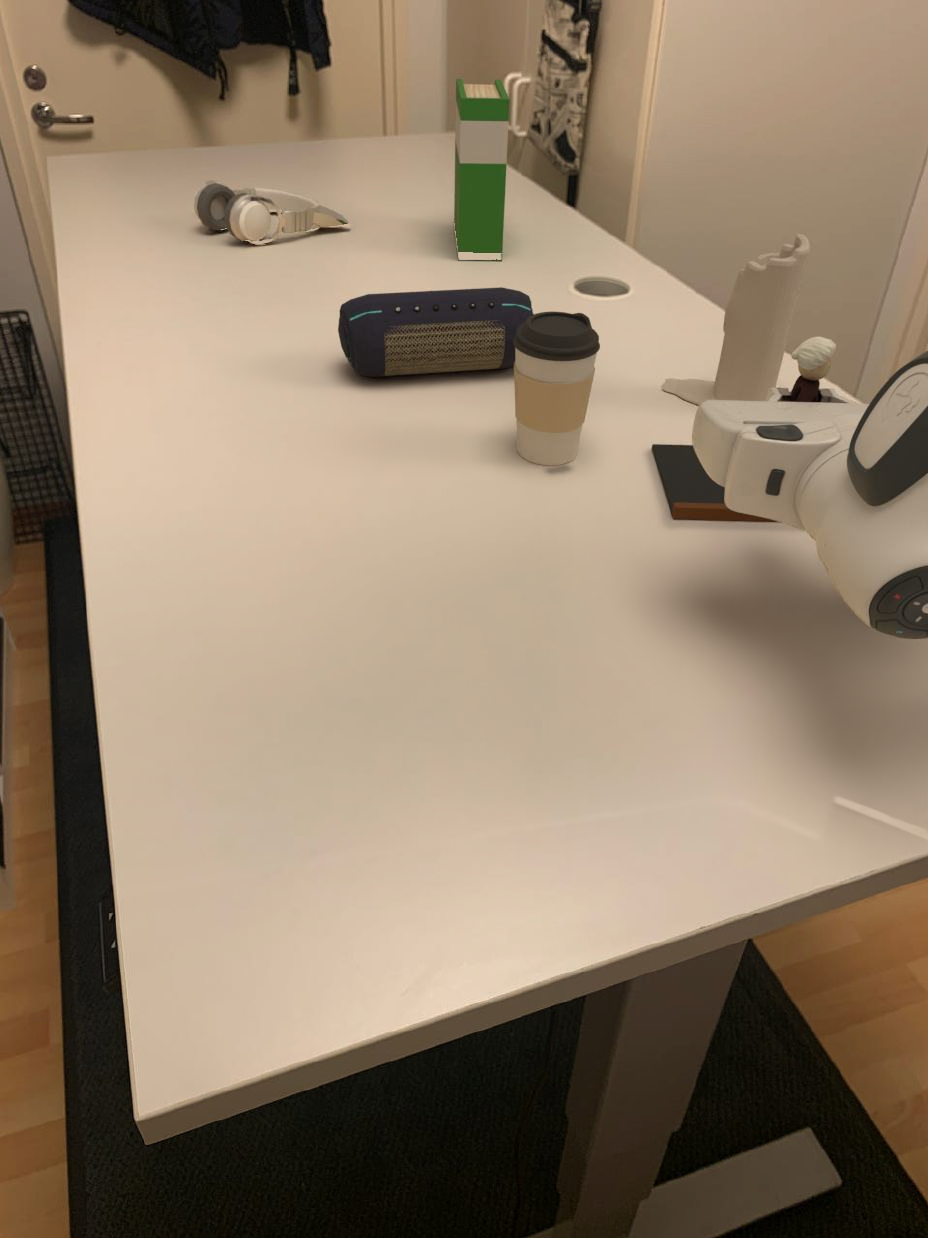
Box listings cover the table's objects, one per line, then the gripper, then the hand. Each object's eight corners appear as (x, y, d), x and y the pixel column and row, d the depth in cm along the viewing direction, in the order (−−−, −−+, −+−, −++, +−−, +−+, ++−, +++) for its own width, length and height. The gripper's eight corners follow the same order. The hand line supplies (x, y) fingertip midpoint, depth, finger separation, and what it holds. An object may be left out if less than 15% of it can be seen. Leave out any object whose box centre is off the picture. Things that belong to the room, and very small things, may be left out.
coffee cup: (529, 476, 98) (540, 342, 88) (493, 439, 104) (499, 309, 95) (602, 461, 101) (619, 329, 91) (562, 425, 107) (575, 299, 98)
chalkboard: (791, 452, 103) (795, 441, 103) (830, 523, 92) (834, 511, 91) (651, 448, 103) (653, 437, 103) (673, 519, 92) (675, 507, 91)
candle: (672, 373, 119) (700, 212, 107) (777, 398, 114) (819, 232, 101) (652, 393, 114) (679, 227, 102) (761, 421, 109) (804, 249, 97)
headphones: (252, 252, 152) (351, 242, 166) (251, 202, 148) (353, 196, 162) (178, 223, 163) (277, 216, 178) (175, 176, 159) (277, 173, 173)
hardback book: (454, 229, 167) (456, 78, 151) (494, 229, 167) (500, 79, 152) (458, 260, 153) (460, 98, 138) (501, 260, 153) (509, 98, 138)
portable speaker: (346, 392, 113) (341, 313, 107) (338, 359, 120) (333, 283, 114) (540, 379, 117) (547, 301, 111) (521, 348, 125) (526, 274, 118)
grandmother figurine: (811, 497, 79) (853, 357, 71) (766, 493, 79) (802, 353, 72) (801, 455, 85) (838, 321, 77) (759, 451, 85) (792, 318, 77)
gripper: (1004, 442, 66) (930, 363, 77) (722, 435, 66) (688, 357, 77) (972, 516, 70) (906, 431, 81) (706, 509, 70) (676, 426, 81)
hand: (798, 395), depth 79 cm, fingers closed on grandmother figurine, 3 cm apart
